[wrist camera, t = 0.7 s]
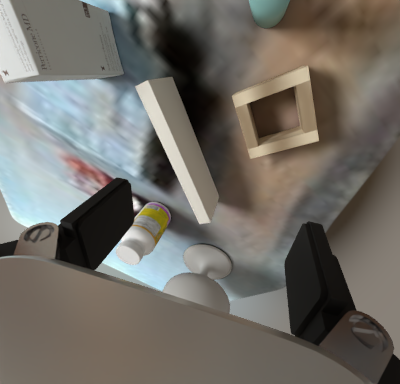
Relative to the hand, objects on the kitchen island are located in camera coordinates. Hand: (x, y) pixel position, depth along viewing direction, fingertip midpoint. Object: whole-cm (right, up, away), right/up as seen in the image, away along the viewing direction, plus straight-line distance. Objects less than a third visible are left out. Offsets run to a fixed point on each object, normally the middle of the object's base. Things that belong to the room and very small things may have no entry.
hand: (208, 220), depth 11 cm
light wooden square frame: (+10, +13, +19) cm, 26 cm away
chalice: (+1, -15, +40) cm, 43 cm away
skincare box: (-16, +24, +21) cm, 36 cm away
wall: (-2, +10, +25) cm, 27 cm away
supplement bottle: (-10, -3, +36) cm, 37 cm away
